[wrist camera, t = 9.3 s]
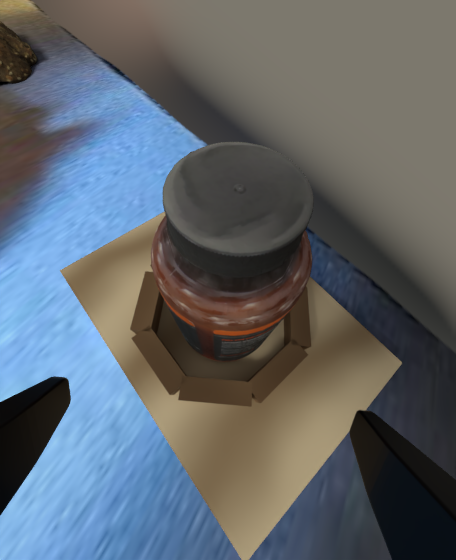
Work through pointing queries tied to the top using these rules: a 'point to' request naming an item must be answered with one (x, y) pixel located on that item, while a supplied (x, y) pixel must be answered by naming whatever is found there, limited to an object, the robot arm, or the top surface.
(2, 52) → the bread roll
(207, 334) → the supplement bottle
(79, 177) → the top surface
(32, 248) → the top surface
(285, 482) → the holder board
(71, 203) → the top surface
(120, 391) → the top surface
